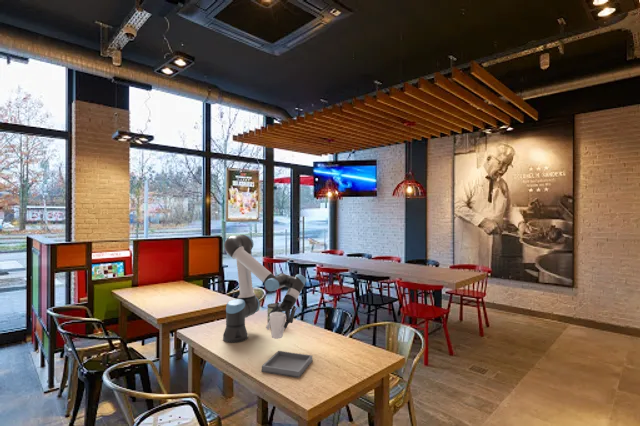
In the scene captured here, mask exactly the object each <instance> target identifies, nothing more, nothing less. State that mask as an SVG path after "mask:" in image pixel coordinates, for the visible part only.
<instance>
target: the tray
mask: <svg viewBox="0 0 640 426" xmlns="http://www.w3.org/2000/svg"><path fill="white" fill-rule="evenodd" d="M312 362H313V355H311V354H304V353H295V352H291V351H290V352H289V351H283V350H278V351H277V352H275V353H274V354H273V355H272V356H271V357H270V358H269V359H267V361H265V362H264V363H263V364H262V365H261V373H266V374H272V375H279V376H283V377H290V378H297V379H299V378H300V377H301V376H302V375H303V374H304V372H305V371H306V370H307V368H308V367H310V365H311V364H312Z"/></svg>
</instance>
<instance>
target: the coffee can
mask: <svg viewBox="0 0 640 426" xmlns="http://www.w3.org/2000/svg"><path fill="white" fill-rule="evenodd" d="M276 304H277V302H275V303H269V304H268V303H267V305H266V307H267V316H266V317H267V322H266V323H267V324H268V320H269V318H270V317H269V316H268V314H269V313H270V312H271V311H272V309H273V308H274V307H275V306H276ZM281 310H282V309H281ZM267 324H266V325H267ZM270 328H271V326H270Z"/></svg>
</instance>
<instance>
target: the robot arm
mask: <svg viewBox="0 0 640 426" xmlns="http://www.w3.org/2000/svg"><path fill="white" fill-rule="evenodd" d="M223 244H224V250H225V252H226V253H227V254H228V255H229V256H230V257H231V258H232V259H233V260H236V267H237V278H238V288H239V295H238V296H237V298H236V299H231V300H229V301H228V302H227V303H226V307H225V329H224V332H223V335H222V339H223V340H222V341H224V342H226V343H231V344H232V343H240V342H244V341H247V339H248V338H249V336H248V330H247V327H246V318H249V317H250V316H253V315H255V314H256V313H257V312H258V311H259V309H260V300H259V299H258V297H257V296H256V293H255V292H254V290H253V288H254V287H253V280H252V279H253V278H252V274H253V275H254V277H255V276H256V277H257V279H258V280H260V281H261V282H262V283H263V284H264V288H265V290H266V291H268V292H276V291H277V290H279V289H281V288H284V287H285V288H288V290H287V291H286V294H285V295H284V297H283V299H282V302H281V303H280V302H279V301H278V302H276V303H277V304H276V306H275V307H274V308H273V309H272V311H271V312H270V313H273V312H283V313H285V314H286V319H285V321H284V323H283V325H282V327H281V329H280V333H281V334H282V333H283V334H284V331H285V329H287V328H288V326H289V324H293V322H294V319H295V313H296V311H297V310H298V308H297V307H296V306H295V304H296V303H297V300H298V298H299V296H300V294H301V292H302V290H303V289H304V287H305V284H306V283H307V278H306V277H305V276H304V275H302V274H301V273H297V274H296V275H295V276H293V275H289V274H287V273H283V272H277V273H276V274H273V273H272V272H271V271H270V270H268V269H267V268H266V267H265V266H264V265H263V264H261V262H259V261H258V260H257V259H256V258H254V257H253V256H252V250H253V248H254V245H255V244H254V240H253V238H252V237H251V236H250V235H249V234H248V235H247V234H240V235H231V236H229V237H228V238H226V239H225V242H224V243H223ZM281 309H282V310H281ZM270 313H269V314H268V313H267V316H269V317H270ZM267 320H268V319H267ZM270 326H271V325H270V318H269V320H268V324H266V326H265V328H266V330H267V331H269V330H270V329H271V327H270Z"/></svg>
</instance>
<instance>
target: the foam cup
mask: <svg viewBox="0 0 640 426" xmlns="http://www.w3.org/2000/svg"><path fill="white" fill-rule="evenodd" d="M284 321H286V312H284V311H283V312H273V313H270V325H271V327H270V332H271V335H270V336H271V338H273V339H282V338H283V337H284V332H283V333H282V334H281V333H280V329H281V327H282V325H283V323H284Z"/></svg>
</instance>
